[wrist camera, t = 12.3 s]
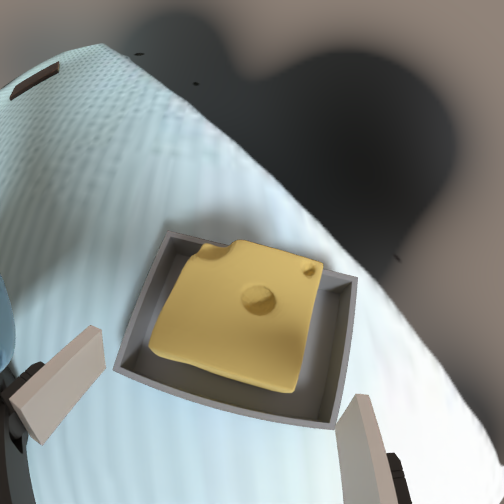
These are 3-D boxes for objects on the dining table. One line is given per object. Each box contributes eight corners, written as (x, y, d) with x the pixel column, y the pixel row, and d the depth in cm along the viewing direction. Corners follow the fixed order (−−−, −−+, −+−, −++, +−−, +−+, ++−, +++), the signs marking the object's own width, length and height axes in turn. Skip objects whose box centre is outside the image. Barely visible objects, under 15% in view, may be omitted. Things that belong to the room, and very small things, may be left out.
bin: (129, 374, 24) (112, 370, 20) (175, 251, 32) (167, 230, 28) (319, 425, 23) (334, 430, 19) (342, 293, 30) (357, 277, 26)
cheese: (208, 273, 30) (198, 220, 21) (303, 302, 29) (333, 260, 20) (173, 363, 25) (140, 347, 16) (277, 397, 24) (301, 400, 15)
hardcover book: (16, 89, 65) (15, 86, 63) (60, 65, 72) (59, 61, 70) (11, 101, 58) (9, 97, 56) (58, 73, 65) (57, 69, 63)
